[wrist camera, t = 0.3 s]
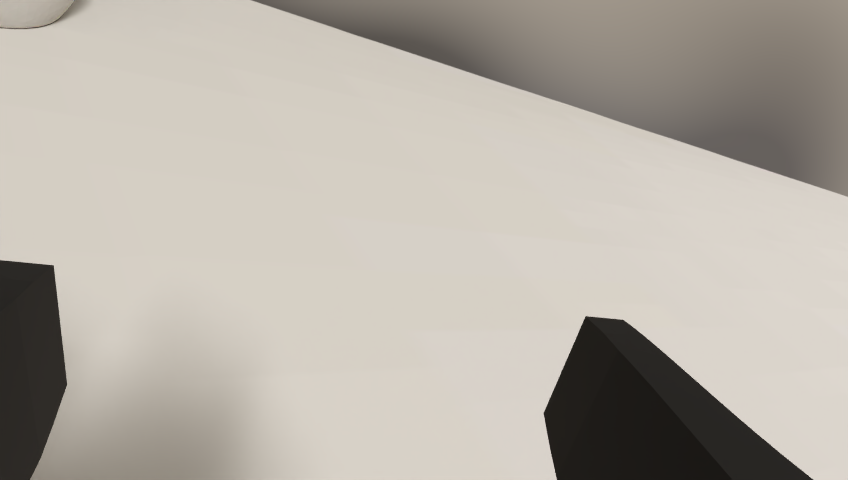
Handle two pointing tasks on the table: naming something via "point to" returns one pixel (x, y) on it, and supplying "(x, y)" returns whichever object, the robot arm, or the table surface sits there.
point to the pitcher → (31, 12)
